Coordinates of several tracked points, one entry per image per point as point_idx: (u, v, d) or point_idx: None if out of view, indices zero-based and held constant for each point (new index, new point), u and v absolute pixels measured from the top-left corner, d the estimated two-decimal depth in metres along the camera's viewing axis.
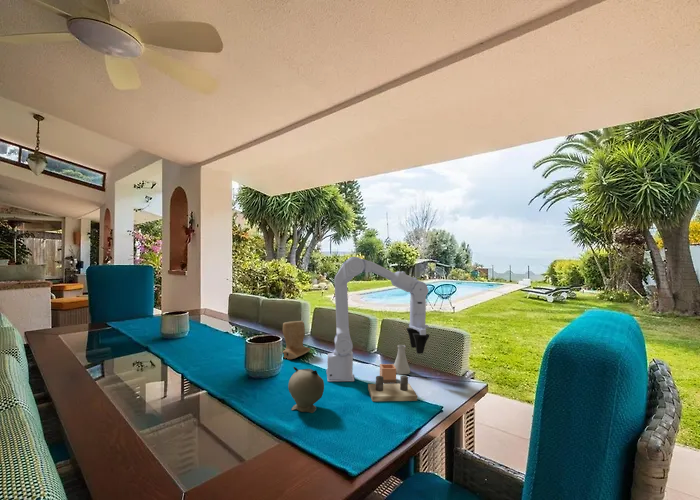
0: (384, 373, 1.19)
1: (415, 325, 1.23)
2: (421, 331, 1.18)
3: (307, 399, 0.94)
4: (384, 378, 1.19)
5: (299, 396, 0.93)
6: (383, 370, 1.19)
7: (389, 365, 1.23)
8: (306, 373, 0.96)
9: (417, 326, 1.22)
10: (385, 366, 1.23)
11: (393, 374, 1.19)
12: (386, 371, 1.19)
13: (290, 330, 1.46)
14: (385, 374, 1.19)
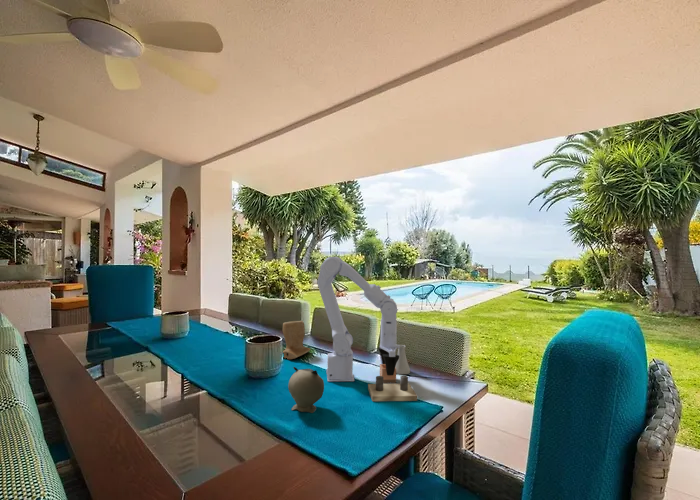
0: (384, 373, 1.19)
1: (385, 346, 1.19)
2: (390, 353, 1.14)
3: (307, 399, 0.94)
4: (384, 378, 1.19)
5: (299, 396, 0.93)
6: (383, 370, 1.19)
7: None
8: (306, 373, 0.96)
9: (387, 347, 1.18)
10: (385, 366, 1.23)
11: (393, 374, 1.19)
12: None
13: (290, 330, 1.46)
14: (385, 374, 1.19)
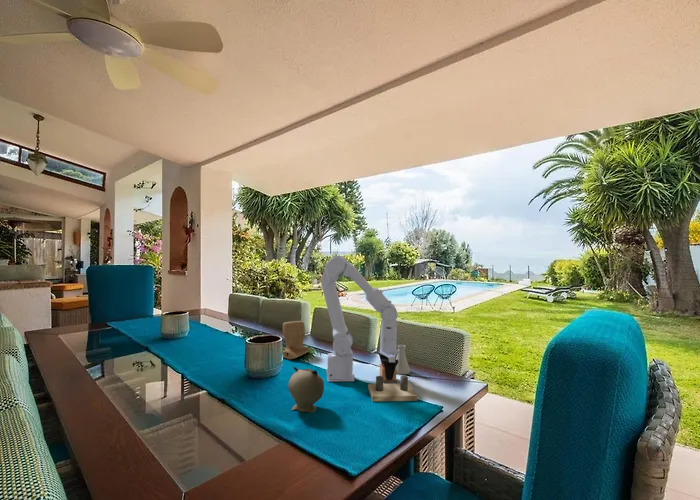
0: (384, 373, 1.19)
1: (385, 351, 1.19)
2: (390, 358, 1.14)
3: (307, 399, 0.94)
4: (384, 378, 1.19)
5: (299, 396, 0.93)
6: (383, 370, 1.19)
7: None
8: (306, 373, 0.96)
9: (387, 352, 1.18)
10: None
11: None
12: None
13: (290, 330, 1.46)
14: None
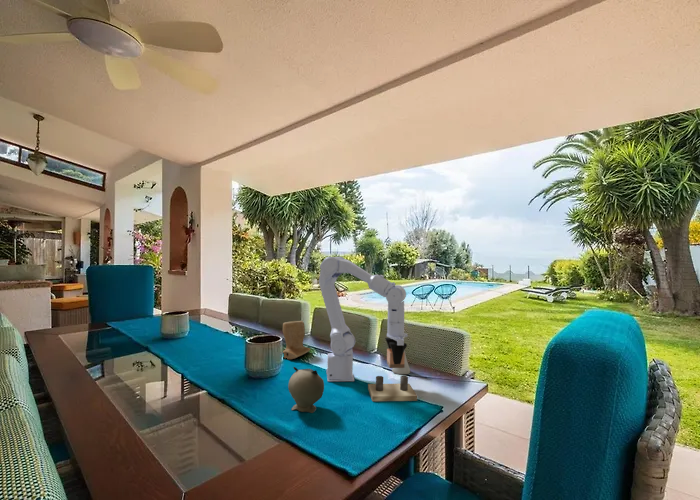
0: (392, 357, 1.13)
1: (393, 334, 1.14)
2: (398, 341, 1.09)
3: (307, 399, 0.94)
4: (392, 363, 1.13)
5: (299, 396, 0.93)
6: (391, 354, 1.13)
7: None
8: (306, 373, 0.96)
9: (395, 335, 1.13)
10: None
11: None
12: None
13: (290, 330, 1.46)
14: None
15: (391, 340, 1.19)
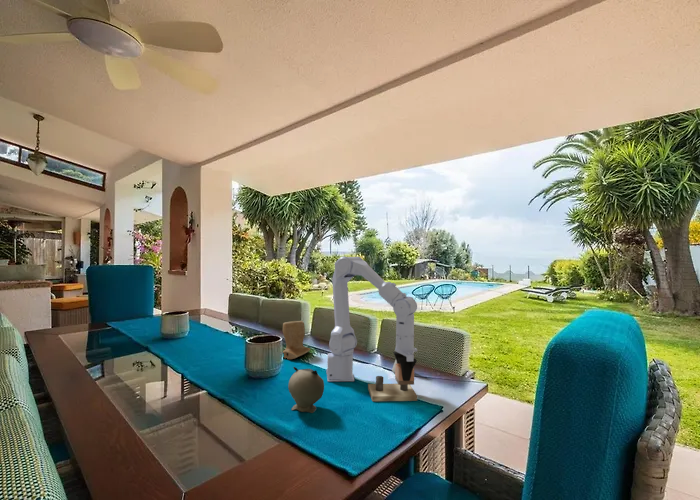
0: (401, 373, 1.07)
1: (402, 349, 1.07)
2: (408, 357, 1.02)
3: (307, 399, 0.94)
4: (401, 379, 1.07)
5: (299, 396, 0.93)
6: (400, 370, 1.07)
7: None
8: (306, 373, 0.96)
9: (404, 350, 1.07)
10: None
11: (411, 375, 1.07)
12: None
13: (290, 330, 1.46)
14: None
15: (400, 354, 1.12)
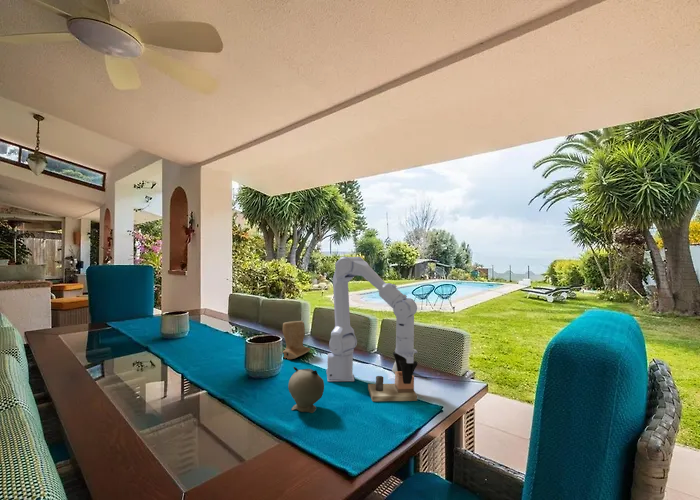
0: (401, 382, 1.07)
1: (402, 351, 1.07)
2: (408, 359, 1.02)
3: (307, 399, 0.94)
4: (401, 387, 1.07)
5: (299, 396, 0.93)
6: (399, 378, 1.07)
7: None
8: (306, 373, 0.96)
9: (404, 352, 1.07)
10: (401, 373, 1.11)
11: (411, 383, 1.07)
12: None
13: (290, 330, 1.46)
14: (402, 383, 1.07)
15: (399, 355, 1.13)
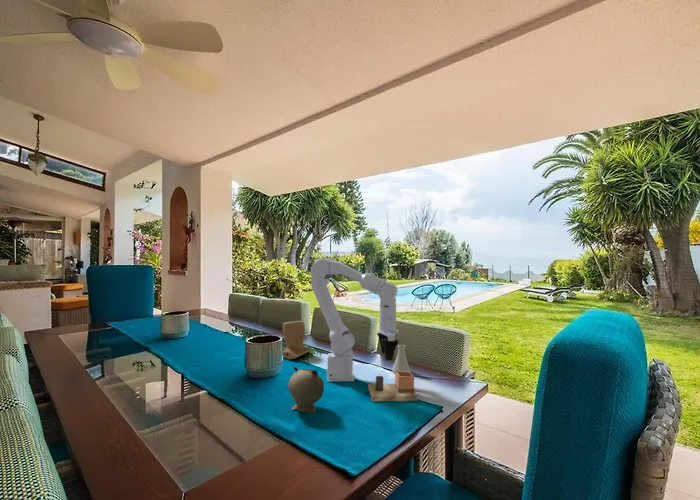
0: (401, 382, 1.07)
1: (384, 330, 1.16)
2: (389, 337, 1.11)
3: (307, 399, 0.94)
4: (401, 387, 1.07)
5: (299, 396, 0.93)
6: (399, 378, 1.07)
7: (405, 372, 1.11)
8: (306, 373, 0.96)
9: (386, 331, 1.15)
10: (401, 373, 1.11)
11: (411, 383, 1.07)
12: (403, 379, 1.07)
13: (290, 330, 1.46)
14: (402, 383, 1.07)
15: (383, 335, 1.22)
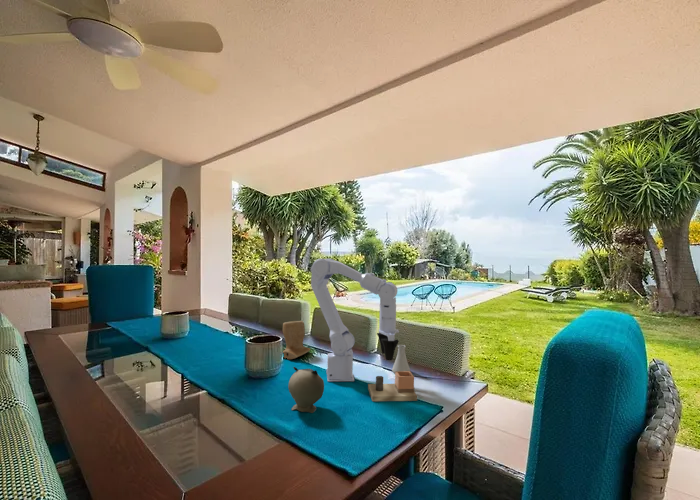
0: (401, 382, 1.07)
1: (384, 330, 1.16)
2: (389, 337, 1.11)
3: (307, 399, 0.94)
4: (401, 387, 1.07)
5: (299, 396, 0.93)
6: (399, 378, 1.07)
7: (405, 372, 1.11)
8: (306, 373, 0.96)
9: (386, 331, 1.15)
10: (401, 373, 1.11)
11: (411, 383, 1.07)
12: (403, 379, 1.07)
13: (290, 330, 1.46)
14: (402, 383, 1.07)
15: (383, 335, 1.22)
